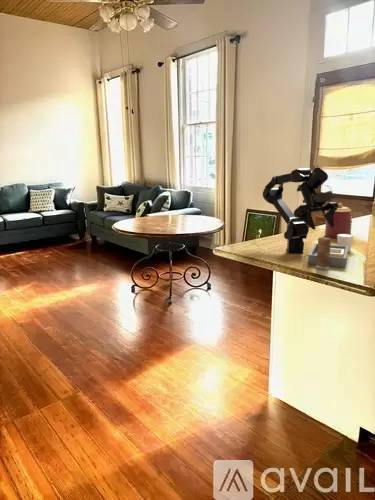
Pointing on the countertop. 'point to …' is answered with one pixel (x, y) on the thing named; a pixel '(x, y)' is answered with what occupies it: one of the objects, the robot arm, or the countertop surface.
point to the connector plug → (323, 253)
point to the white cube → (345, 240)
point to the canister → (340, 222)
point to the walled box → (331, 256)
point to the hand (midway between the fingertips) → (323, 228)
